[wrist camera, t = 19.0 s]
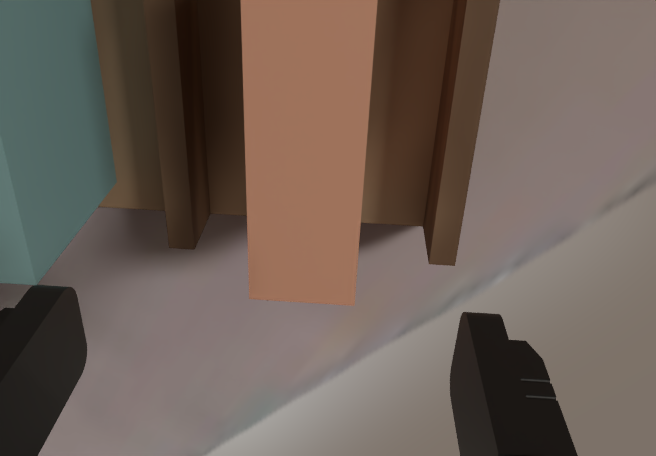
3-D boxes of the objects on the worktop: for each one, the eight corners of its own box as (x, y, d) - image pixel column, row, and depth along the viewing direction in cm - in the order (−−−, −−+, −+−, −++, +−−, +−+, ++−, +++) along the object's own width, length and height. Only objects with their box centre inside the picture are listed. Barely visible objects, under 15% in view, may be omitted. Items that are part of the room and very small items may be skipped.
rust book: (278, 191, 32) (249, 298, 24) (277, -71, 26) (239, -42, 18) (357, 196, 32) (354, 305, 24) (376, -66, 25) (380, -34, 18)
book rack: (-29, 185, 34) (-85, 231, 30) (-116, -133, 27) (-210, -132, 22) (443, 213, 33) (454, 265, 29) (491, -104, 26) (516, -97, 22)
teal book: (39, 177, 32) (-66, 278, 24) (-17, -85, 26) (-182, -62, 18) (116, 182, 32) (36, 285, 24) (78, -81, 26) (-46, -56, 18)
